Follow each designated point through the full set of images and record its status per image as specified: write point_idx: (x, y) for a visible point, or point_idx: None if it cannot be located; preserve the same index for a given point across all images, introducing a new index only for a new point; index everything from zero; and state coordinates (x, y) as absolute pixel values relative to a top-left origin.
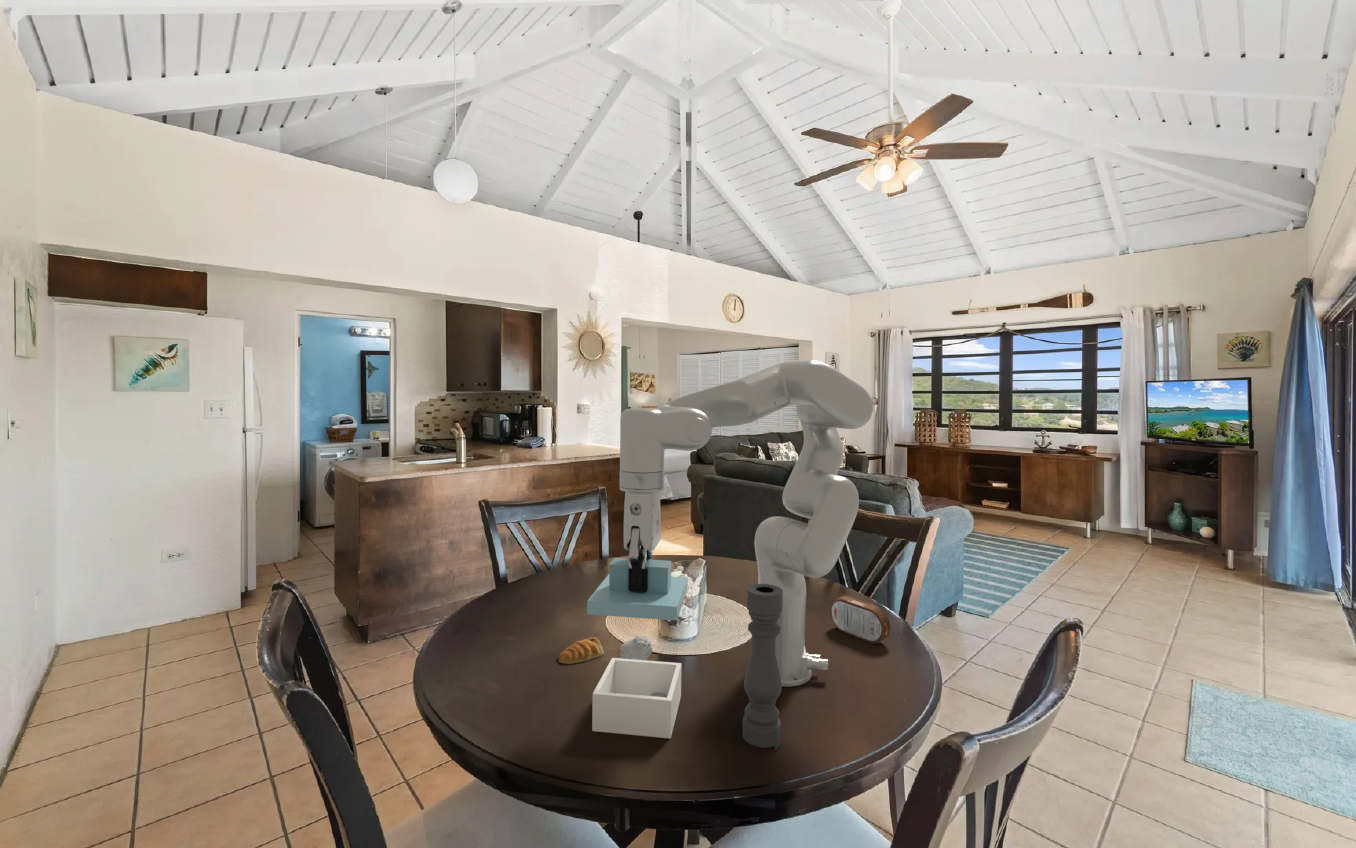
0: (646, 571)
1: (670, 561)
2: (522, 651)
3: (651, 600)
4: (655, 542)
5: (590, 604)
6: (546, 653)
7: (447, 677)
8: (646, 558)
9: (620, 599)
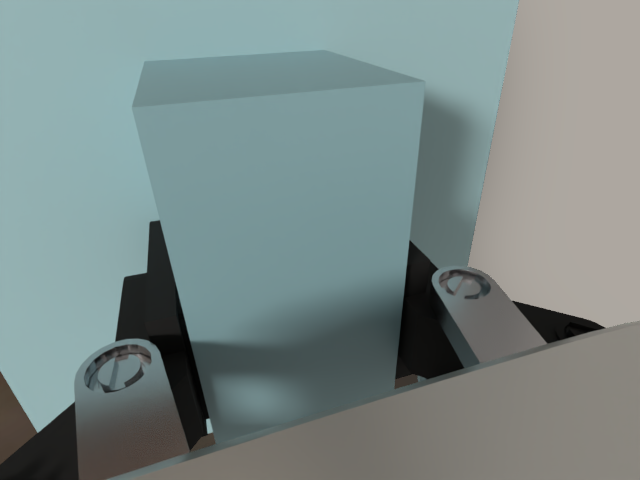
0: (419, 254)
1: (171, 112)
2: (35, 431)
3: (437, 126)
4: (635, 415)
5: None
6: (13, 393)
7: (192, 449)
8: (190, 374)
9: None
